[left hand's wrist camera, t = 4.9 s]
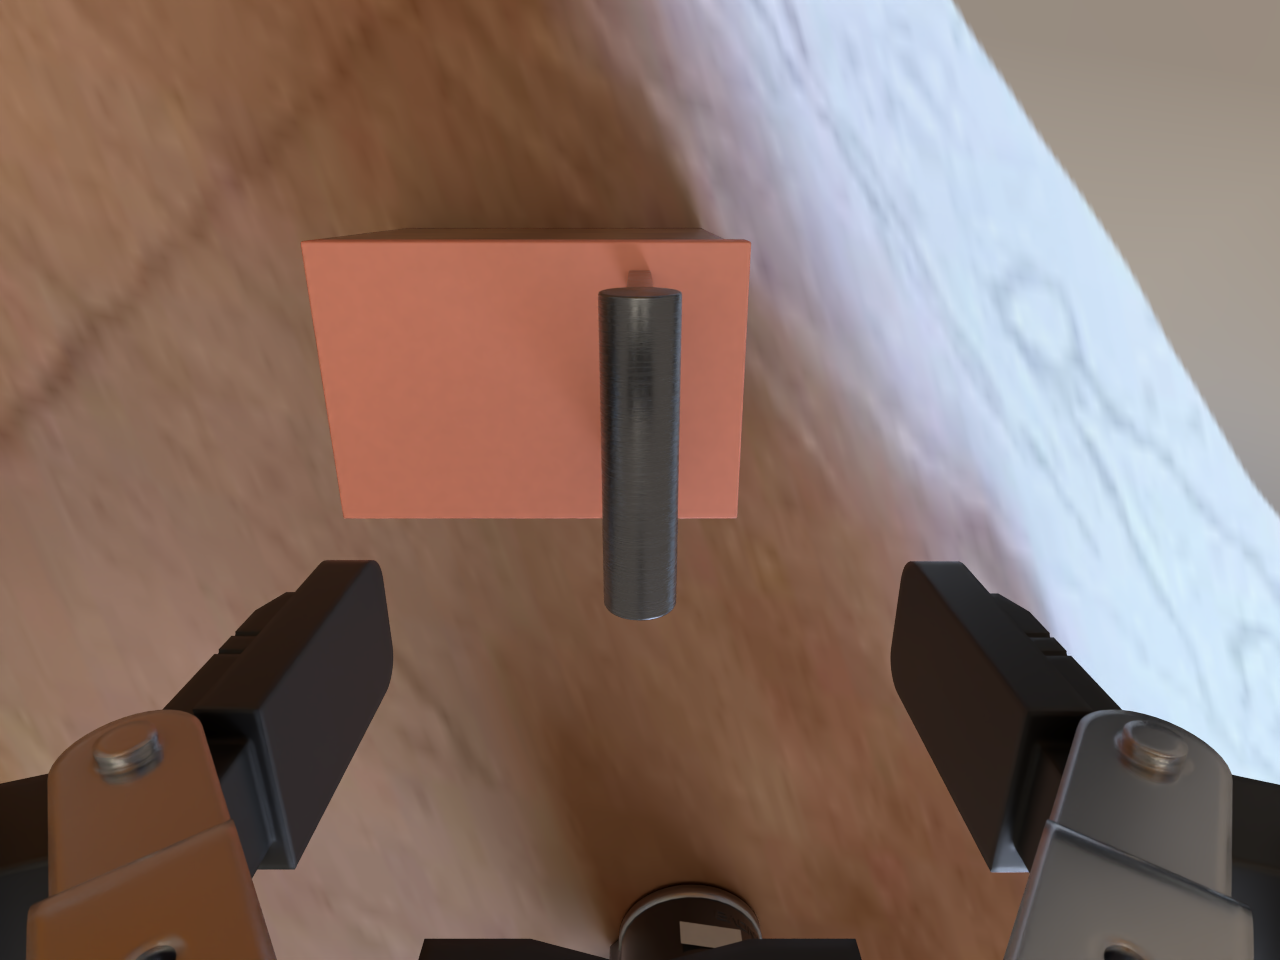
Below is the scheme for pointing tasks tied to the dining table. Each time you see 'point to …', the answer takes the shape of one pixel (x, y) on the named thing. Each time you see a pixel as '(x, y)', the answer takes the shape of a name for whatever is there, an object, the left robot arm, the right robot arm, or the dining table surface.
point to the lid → (539, 386)
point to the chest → (537, 233)
